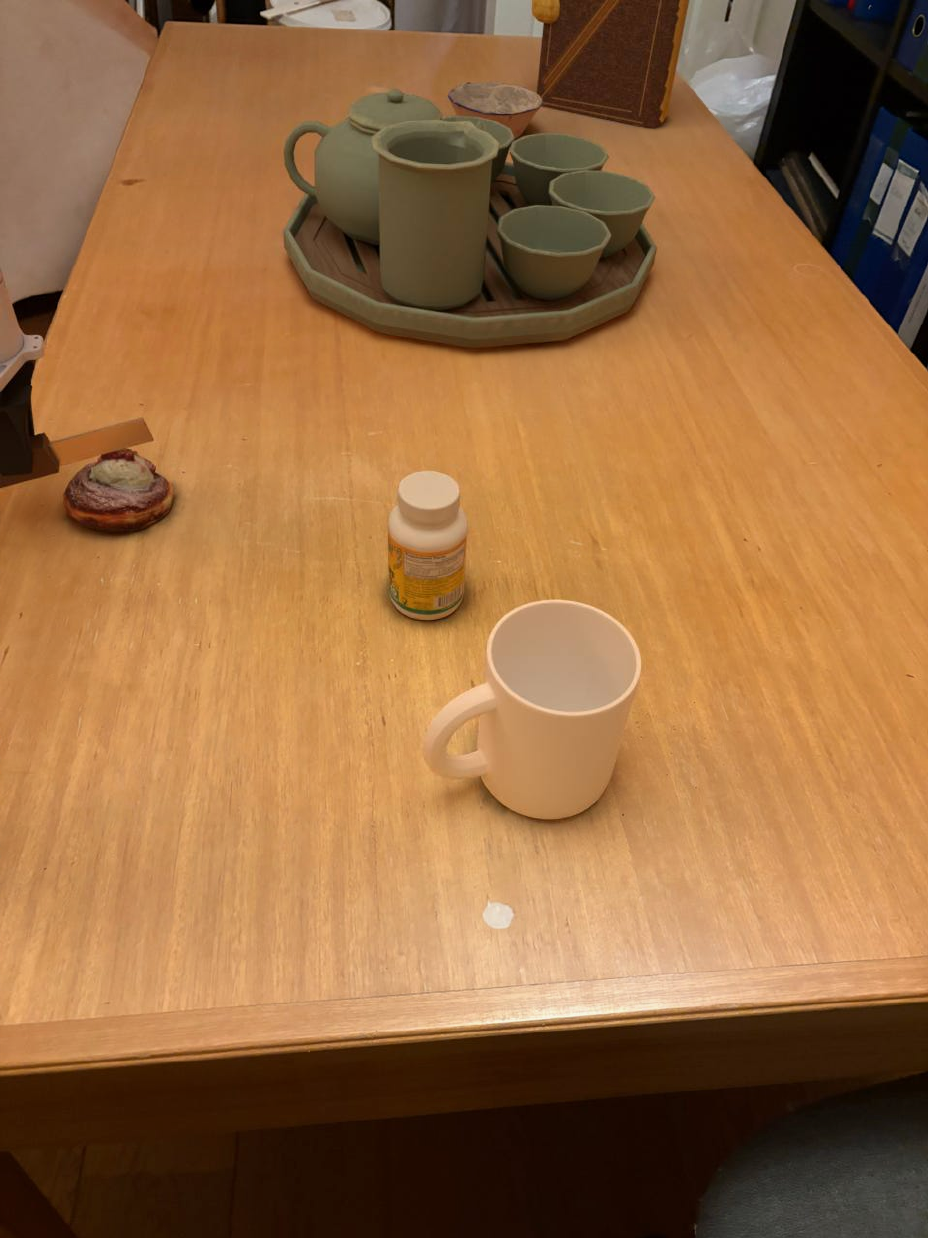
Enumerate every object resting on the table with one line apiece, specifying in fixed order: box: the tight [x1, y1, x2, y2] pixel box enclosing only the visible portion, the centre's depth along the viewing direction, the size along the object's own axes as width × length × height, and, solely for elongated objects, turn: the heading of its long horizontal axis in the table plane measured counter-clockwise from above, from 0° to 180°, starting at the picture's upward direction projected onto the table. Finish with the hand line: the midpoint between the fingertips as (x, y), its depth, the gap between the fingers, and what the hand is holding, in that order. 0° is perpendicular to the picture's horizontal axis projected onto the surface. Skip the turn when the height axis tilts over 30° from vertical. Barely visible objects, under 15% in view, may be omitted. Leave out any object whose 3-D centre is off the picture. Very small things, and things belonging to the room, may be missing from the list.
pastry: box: [62, 448, 175, 533], centre depth 70 cm, size 8×8×5 cm
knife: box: [0, 416, 155, 489], centre depth 67 cm, size 12×2×2 cm, turn 104°
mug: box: [422, 599, 642, 820], centre depth 52 cm, size 12×8×10 cm
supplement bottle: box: [387, 470, 469, 621], centre depth 63 cm, size 5×5×10 cm
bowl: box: [447, 81, 543, 140], centre depth 129 cm, size 13×13×5 cm
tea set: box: [282, 88, 658, 349], centre depth 97 cm, size 40×40×16 cm
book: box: [531, 0, 690, 129], centre depth 131 cm, size 22×8×25 cm, turn 65°
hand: (18, 462), depth 67 cm, fingers closed on knife, 2 cm apart
